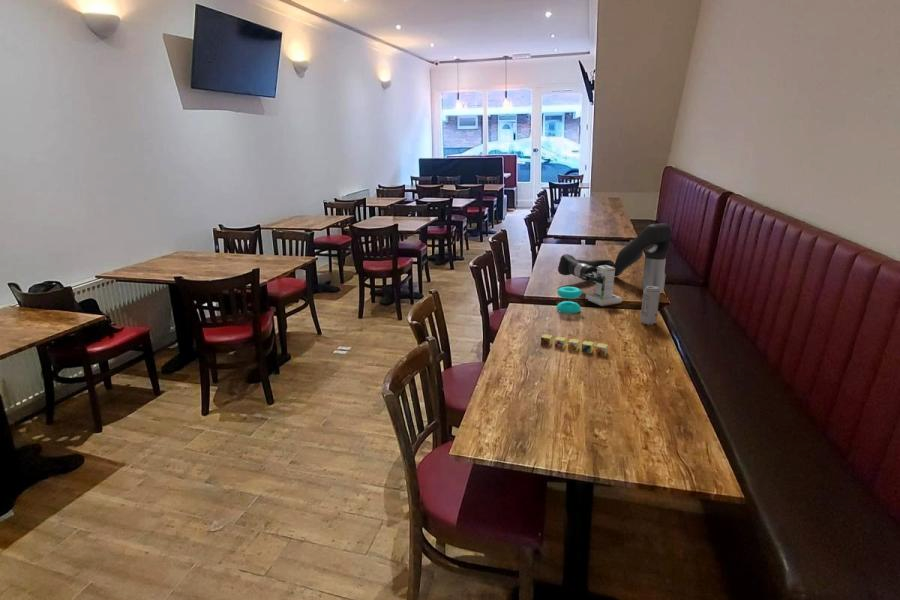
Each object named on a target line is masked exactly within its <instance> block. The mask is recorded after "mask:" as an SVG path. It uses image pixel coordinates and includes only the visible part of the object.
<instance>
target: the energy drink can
mask: <svg viewBox="0 0 900 600" xmlns="http://www.w3.org/2000/svg"><path fill="white" fill-rule="evenodd" d="M642 293H643V294H642V302H641V310H640V322H641V324H642V323H644V324H643V325H645V324H649V325H648V326H651V325H650V324H654V323H655V324H656V323H657V319H658V313H659V303H660V295H661V294H660V291H659V287H657V286H646V288H645V289H644V291H643V292H642ZM655 324H654V325H655Z"/></svg>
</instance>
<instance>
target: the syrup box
mask: <svg viewBox="0 0 900 600" xmlns="http://www.w3.org/2000/svg"><path fill="white" fill-rule="evenodd" d="M614 275H615V268H613V267H611V266H608V265H601V266H598V268H597V277H599V278H602V279H603V284H601V283H598V282H595V292H594V293H595V296H596V297H598V298H600V299H610V298H612V294H613V290H614V283H615V282H614Z"/></svg>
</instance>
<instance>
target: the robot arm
mask: <svg viewBox="0 0 900 600" xmlns="http://www.w3.org/2000/svg"><path fill="white" fill-rule="evenodd" d="M671 239H672V229H671V227H670V225H669V224H668V223H664V222H662V223H652V224H648V225H647V226H646V227H645V228H644V229H643V230H642V231H641V232H640V233H639V234H638V235H637V236H636V237H635V238H634V239H632V240H631V241H629V243H628V244H627V245H625V246H624V247H623V248H621V250H620V251H619V252H618V254H617V256H616V259H615V262H614V261H613V260H611V259H599V260H596V259H595V260H584V259H583V260H582V259H577V258H575V256H573V255H571V254H569V253H568V254H567V253H566V254H564V253H563V254H562V255H561V256H560V259H559V263H558V267H557V271H558V273H559V274H560V275H562V276H571V275H572V276H574V277H577V278H578V279H580V280H583V281H586V282H588V283H593V282H594V283H596V282H598V283H601V284H603V279H602V278H599V277H597V270H598V266H601V265H608V266H611V267H613V268H615V275H614V276H618V275H619V276H620V275H621V274H622V273H624V271H625V270H627V269H628V268H629V267H630V266H632V265H633V264H635V263H637V262H638V261H639V260H640V259H641V258H642V256H643V255H644V254H645V256H644V261H643V262H644V264H643V265H644V266H643V272H642V273H643V275H642V281H641V282H642V284H641V291H642V290H643V291H644V289H645V288H646V286H657V287H659V291H660V292H662V291H663V292H664V291H665V281H666V277H667V275H666V273H665V270H666V269H665V268H666V260H667V255H668V253H669V251H670V246H671V241H672V240H671ZM651 245H653V246H652V247H650V248H648V247H649V246H651ZM646 248H648V249H647V250H646V251H645V253H644V250H645V249H646ZM643 253H644V254H643ZM619 276H618V277H619ZM615 282H616V278H615V277H614V283H615ZM664 293H665V292H664Z"/></svg>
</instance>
